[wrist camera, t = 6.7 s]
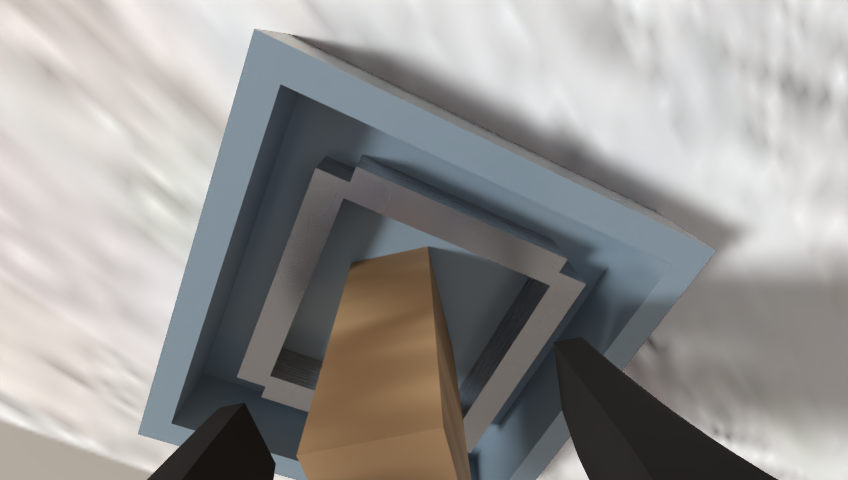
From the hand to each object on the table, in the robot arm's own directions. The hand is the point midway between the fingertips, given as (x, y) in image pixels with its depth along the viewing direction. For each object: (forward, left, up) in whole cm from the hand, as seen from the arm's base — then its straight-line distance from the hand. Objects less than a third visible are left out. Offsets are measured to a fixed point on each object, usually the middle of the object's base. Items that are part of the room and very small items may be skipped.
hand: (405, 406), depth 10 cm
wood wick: (0, 0, -4) cm, 4 cm away
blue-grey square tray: (0, 0, -5) cm, 5 cm away
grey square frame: (0, 0, -5) cm, 5 cm away
